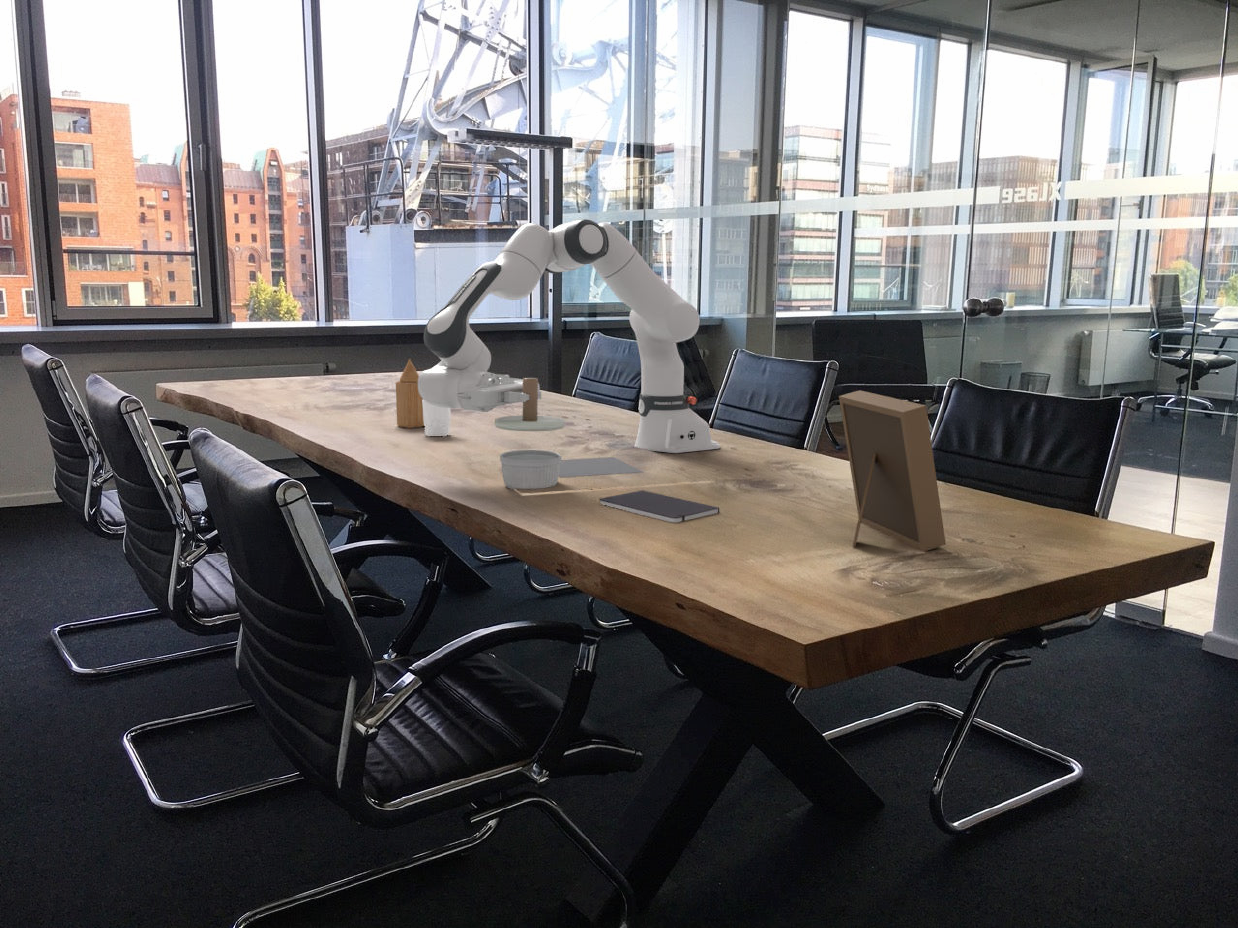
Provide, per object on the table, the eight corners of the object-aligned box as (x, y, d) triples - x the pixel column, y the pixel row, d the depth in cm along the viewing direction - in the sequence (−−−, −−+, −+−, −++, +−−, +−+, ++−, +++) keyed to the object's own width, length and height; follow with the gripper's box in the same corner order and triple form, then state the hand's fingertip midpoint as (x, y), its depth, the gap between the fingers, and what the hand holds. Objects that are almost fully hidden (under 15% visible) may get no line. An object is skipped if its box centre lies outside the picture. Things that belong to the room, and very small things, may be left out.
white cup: (436, 438, 286) (435, 402, 284) (417, 435, 291) (416, 399, 289) (457, 434, 292) (456, 399, 291) (437, 432, 297) (437, 397, 295)
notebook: (719, 515, 203) (642, 497, 218) (719, 507, 203) (642, 490, 218) (674, 526, 194) (597, 506, 209) (674, 517, 194) (597, 498, 209)
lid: (552, 419, 233) (553, 374, 231) (574, 429, 220) (575, 381, 218) (487, 421, 228) (487, 375, 226) (505, 432, 214) (505, 382, 212)
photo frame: (879, 520, 198) (886, 389, 194) (945, 550, 178) (955, 404, 173) (808, 525, 194) (814, 391, 189) (868, 556, 174) (876, 407, 169)
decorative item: (396, 426, 307) (394, 358, 303) (415, 424, 311) (413, 356, 308) (408, 428, 302) (406, 359, 298) (427, 426, 307) (426, 358, 303)
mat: (613, 459, 258) (613, 456, 257) (643, 474, 239) (643, 471, 239) (535, 463, 251) (535, 461, 250) (560, 479, 232) (560, 477, 232)
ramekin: (574, 486, 226) (574, 454, 225) (528, 495, 217) (528, 462, 215) (532, 477, 235) (532, 447, 234) (487, 486, 226) (487, 454, 224)
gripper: (451, 381, 219) (505, 386, 213) (508, 373, 237) (559, 378, 230) (451, 410, 220) (505, 416, 214) (508, 401, 238) (559, 406, 231)
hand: (533, 396), depth 222 cm, fingers closed on lid, 3 cm apart
